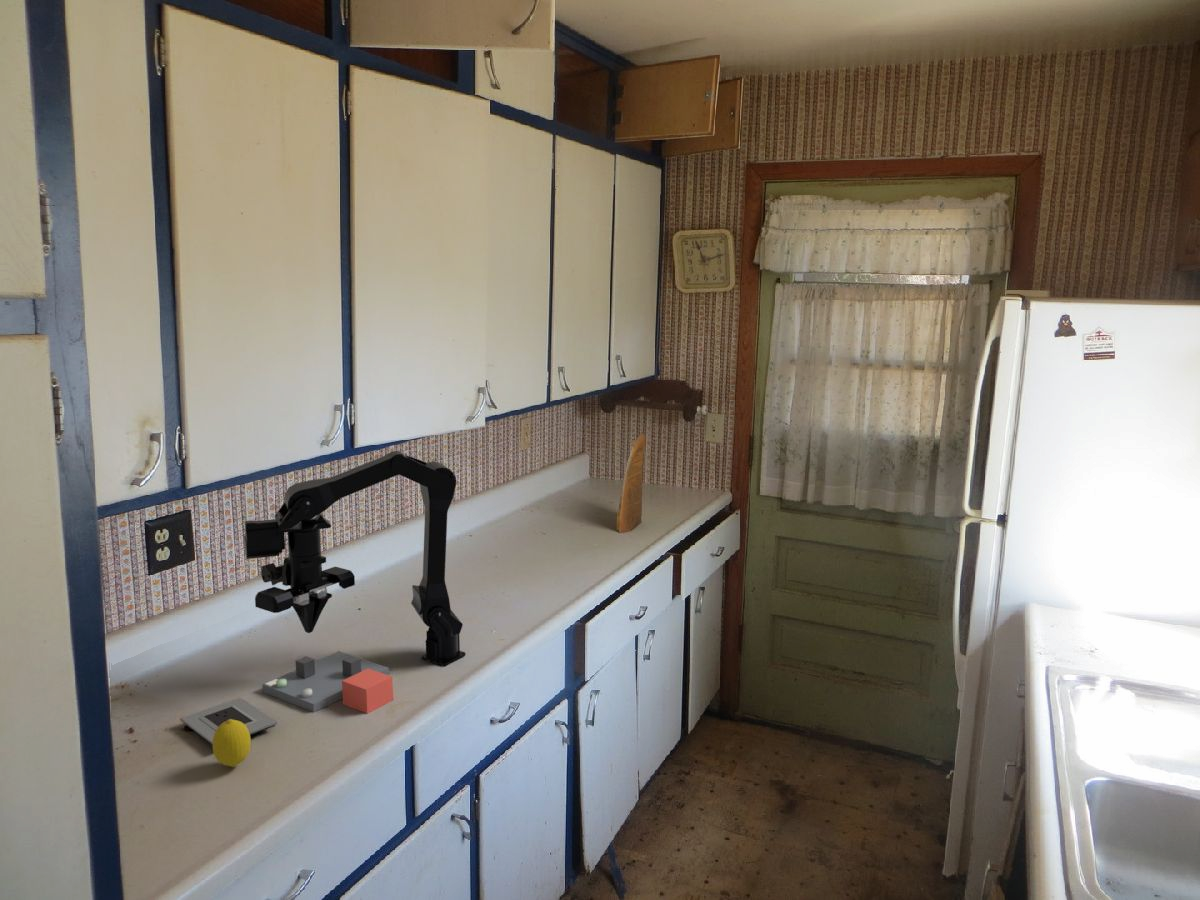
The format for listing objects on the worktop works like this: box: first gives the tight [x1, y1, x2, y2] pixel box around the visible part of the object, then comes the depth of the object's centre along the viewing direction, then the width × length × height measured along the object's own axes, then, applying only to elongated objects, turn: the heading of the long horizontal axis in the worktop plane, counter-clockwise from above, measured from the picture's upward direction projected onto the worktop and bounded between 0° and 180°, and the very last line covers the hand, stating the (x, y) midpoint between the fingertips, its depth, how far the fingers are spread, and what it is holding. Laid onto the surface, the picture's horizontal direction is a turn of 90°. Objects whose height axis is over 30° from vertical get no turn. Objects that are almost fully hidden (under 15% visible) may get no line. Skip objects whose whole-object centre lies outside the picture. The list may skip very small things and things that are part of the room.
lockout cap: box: [342, 669, 394, 714], centre depth 164 cm, size 6×6×4 cm
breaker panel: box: [262, 650, 390, 713], centre depth 171 cm, size 18×14×2 cm
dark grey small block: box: [342, 655, 362, 677], centre depth 171 cm, size 2×2×3 cm
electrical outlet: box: [179, 697, 278, 746], centre depth 154 cm, size 13×10×2 cm
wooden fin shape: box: [616, 432, 646, 533], centre depth 276 cm, size 7×19×28 cm, turn 160°
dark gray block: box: [295, 655, 315, 679], centre depth 171 cm, size 2×2×3 cm
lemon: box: [212, 719, 252, 768], centre depth 142 cm, size 6×6×8 cm
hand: (308, 632), depth 171 cm, fingers closed
